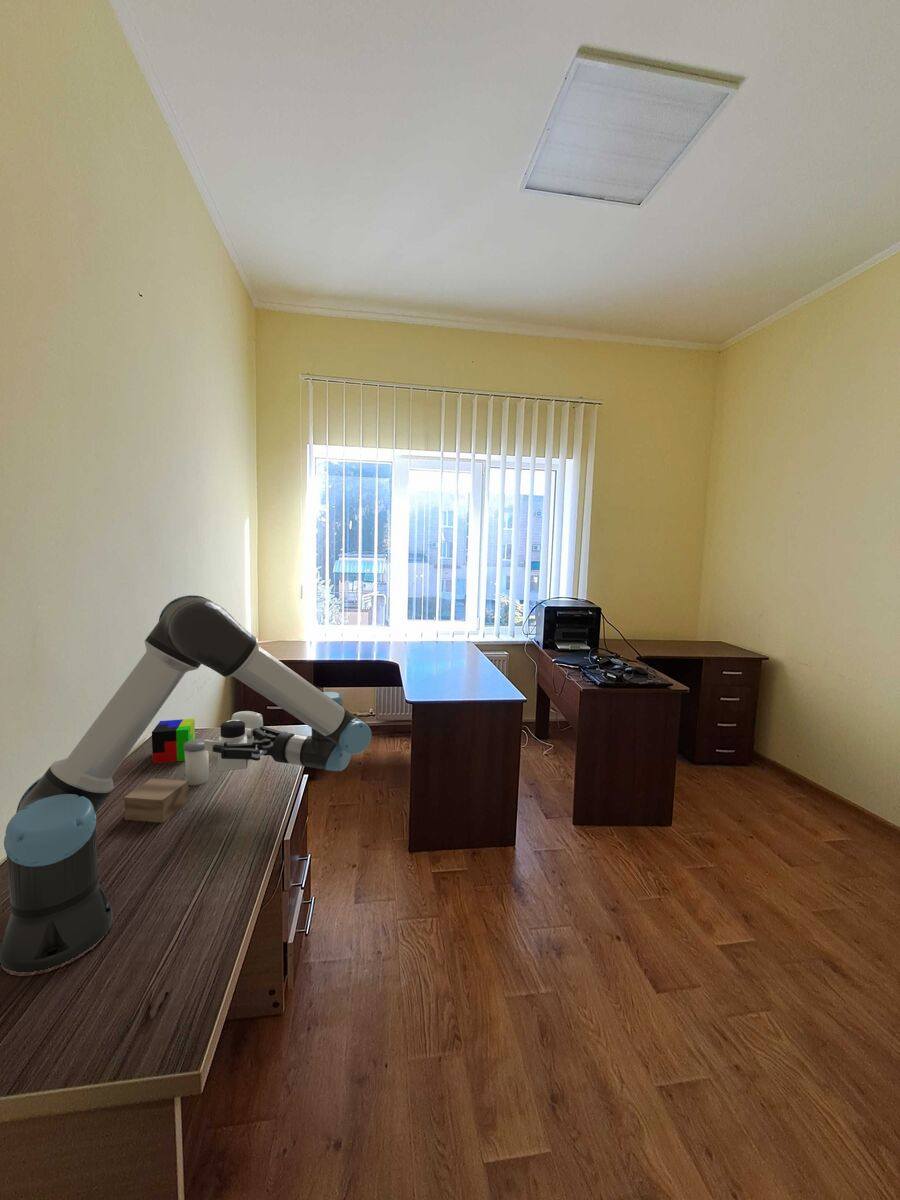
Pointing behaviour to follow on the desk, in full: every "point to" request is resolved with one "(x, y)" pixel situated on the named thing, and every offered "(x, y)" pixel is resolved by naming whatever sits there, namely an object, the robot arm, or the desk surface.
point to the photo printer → (249, 721)
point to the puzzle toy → (171, 739)
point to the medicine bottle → (232, 735)
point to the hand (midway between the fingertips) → (219, 737)
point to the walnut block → (156, 800)
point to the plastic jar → (196, 762)
